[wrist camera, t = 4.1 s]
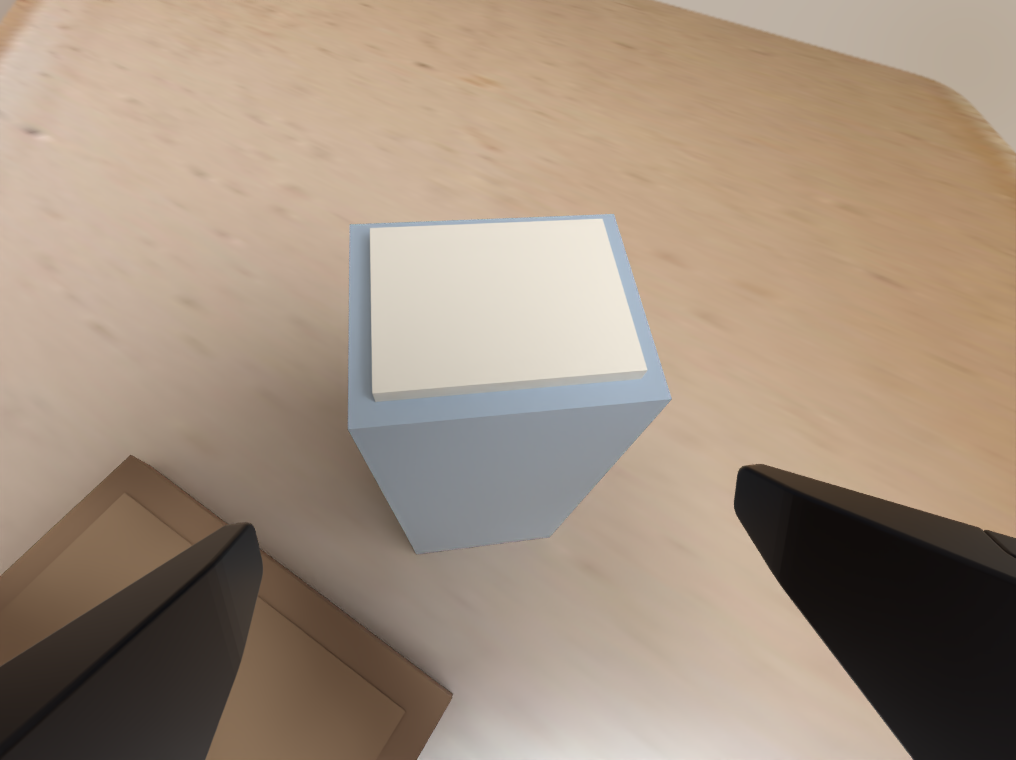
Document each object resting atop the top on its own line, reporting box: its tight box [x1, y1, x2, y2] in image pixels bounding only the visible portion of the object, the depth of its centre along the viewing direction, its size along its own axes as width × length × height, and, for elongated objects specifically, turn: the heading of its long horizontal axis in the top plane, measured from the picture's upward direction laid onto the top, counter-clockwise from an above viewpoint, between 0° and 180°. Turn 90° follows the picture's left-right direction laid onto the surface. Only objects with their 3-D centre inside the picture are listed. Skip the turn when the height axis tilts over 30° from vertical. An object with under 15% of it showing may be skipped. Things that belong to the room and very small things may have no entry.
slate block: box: [348, 214, 672, 554], centre depth 14 cm, size 4×5×13 cm
